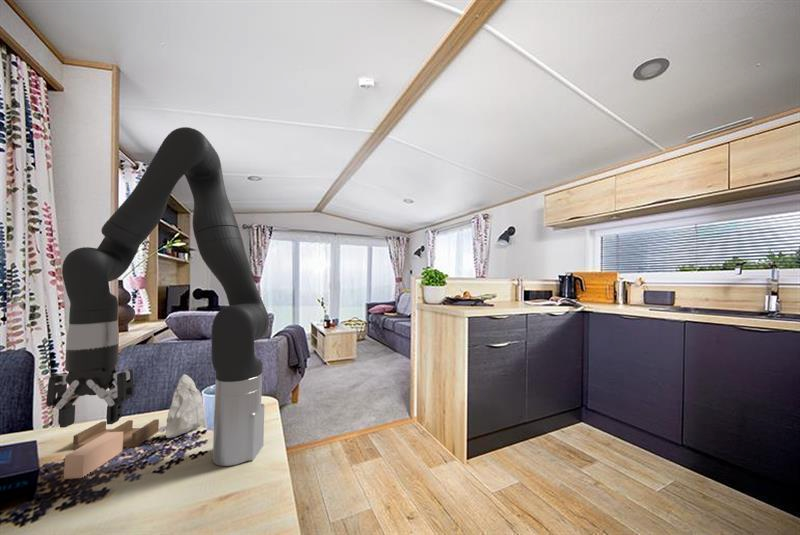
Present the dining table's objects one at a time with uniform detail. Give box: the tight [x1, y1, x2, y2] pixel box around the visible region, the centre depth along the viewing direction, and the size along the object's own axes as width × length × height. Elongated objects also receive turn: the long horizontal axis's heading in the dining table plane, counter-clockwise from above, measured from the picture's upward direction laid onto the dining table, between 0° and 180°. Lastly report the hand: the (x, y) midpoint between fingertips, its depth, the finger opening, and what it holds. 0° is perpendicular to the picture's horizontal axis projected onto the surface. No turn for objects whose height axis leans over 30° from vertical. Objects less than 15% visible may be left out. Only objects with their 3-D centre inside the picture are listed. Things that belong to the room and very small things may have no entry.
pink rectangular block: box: [63, 432, 124, 480], centre depth 61 cm, size 3×9×4 cm, turn 5°
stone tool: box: [165, 373, 205, 439], centre depth 74 cm, size 8×3×15 cm, turn 151°
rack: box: [72, 419, 160, 450], centre depth 71 cm, size 14×7×3 cm, turn 95°
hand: (90, 424), depth 59 cm, fingers open, 8 cm apart
